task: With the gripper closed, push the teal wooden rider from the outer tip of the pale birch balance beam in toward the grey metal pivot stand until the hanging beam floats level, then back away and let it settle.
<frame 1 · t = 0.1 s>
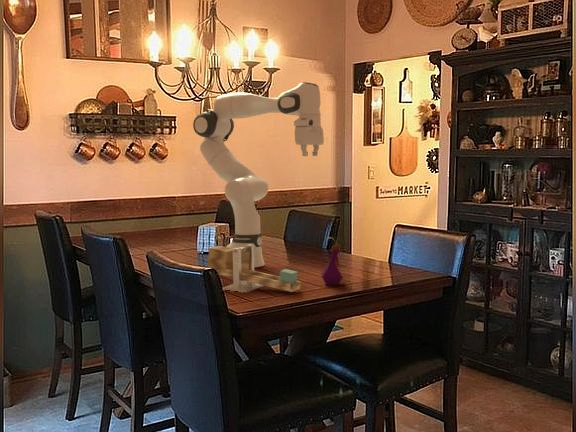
hand: (310, 156, 272), 48 cm above the table, fingers open, 8 cm apart
rider: (287, 284, 236), point 3 cm above the table, tilted 7°, touching beam
purple vase: (331, 285, 249), on the table
beam: (253, 266, 242), point 8 cm above the table, hinge at 7.0°, touching rider
stand: (244, 287, 245), on the table
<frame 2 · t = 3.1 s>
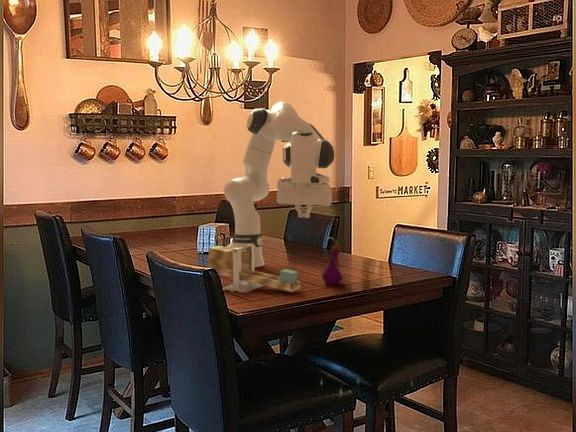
hand: (304, 217, 230), 27 cm above the table, fingers closed
nothing on the table moved.
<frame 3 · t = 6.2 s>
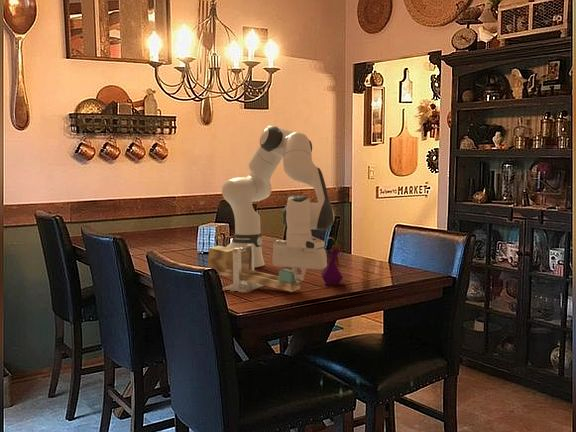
hand: (299, 280, 234), 5 cm above the table, fingers closed
rider: (286, 284, 236), point 3 cm above the table, tilted 7°, touching beam, gripper
everything else where it was.
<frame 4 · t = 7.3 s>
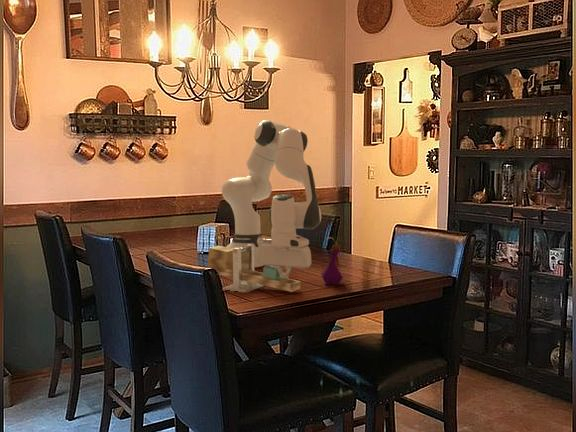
hand: (284, 278, 236), 5 cm above the table, fingers closed
rider: (271, 281, 239), point 4 cm above the table, tilted 7°, touching gripper
beam: (253, 267, 242), point 8 cm above the table, hinge at 7.0°
everything else where it was.
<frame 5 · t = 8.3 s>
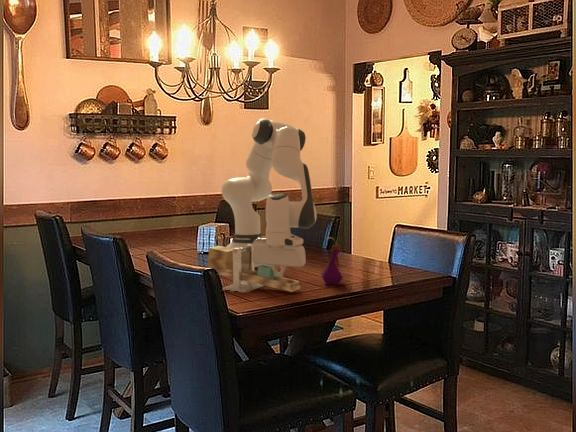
hand: (278, 277, 237), 5 cm above the table, fingers closed
rider: (265, 279, 240), point 4 cm above the table, tilted 7°, touching beam, gripper
beam: (253, 267, 242), point 8 cm above the table, hinge at 7.0°, touching rider
everything else where it was.
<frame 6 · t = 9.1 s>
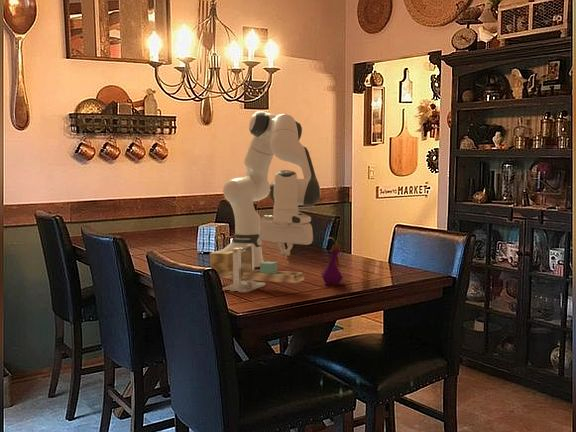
hand: (285, 255, 236), 13 cm above the table, fingers closed
rider: (269, 276, 239), point 5 cm above the table, touching beam
beam: (255, 265, 241), point 9 cm above the table, hinge at -1.5°, touching rider
everything else where it was.
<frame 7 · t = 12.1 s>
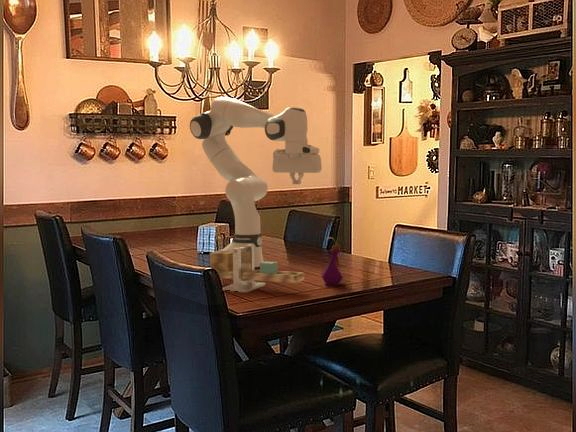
hand: (296, 184, 259), 37 cm above the table, fingers closed
nothing on the table moved.
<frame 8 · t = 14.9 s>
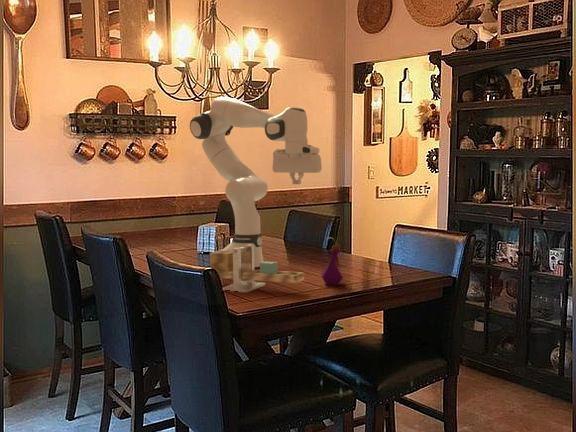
hand: (296, 184, 259), 37 cm above the table, fingers closed
nothing on the table moved.
at the end: beam at -2° (first picture: +7°); rider inside the target area (1.1 cm from its centre), point 5.3 cm above the table; rider tilted 2° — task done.
